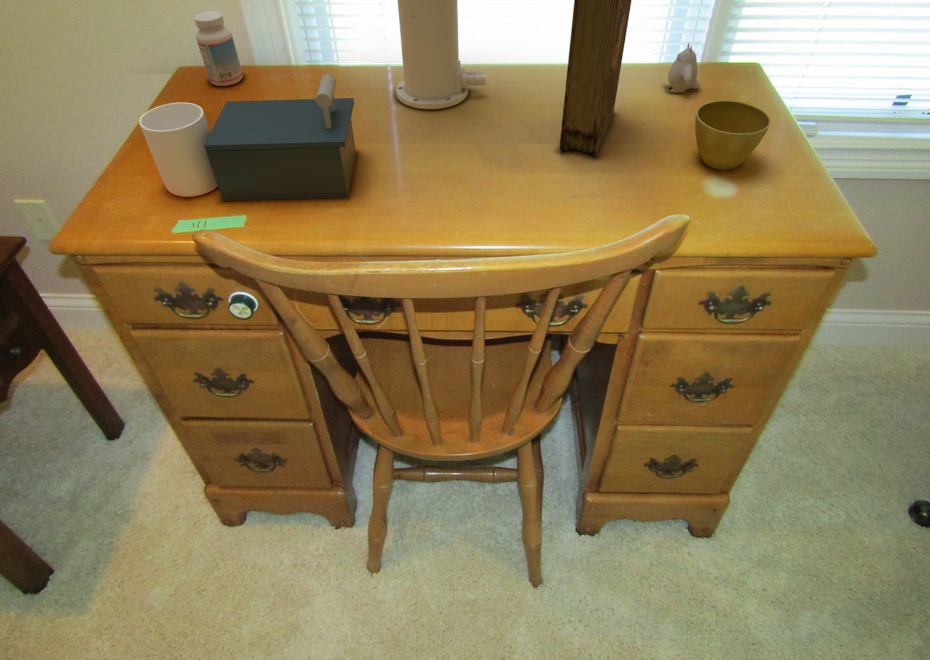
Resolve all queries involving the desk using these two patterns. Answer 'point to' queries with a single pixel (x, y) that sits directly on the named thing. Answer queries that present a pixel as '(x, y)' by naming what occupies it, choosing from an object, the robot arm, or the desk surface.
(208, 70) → the pill bottle
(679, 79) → the figurine
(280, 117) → the lid
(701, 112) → the flower pot
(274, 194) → the chest
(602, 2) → the book
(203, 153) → the mug
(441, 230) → the desk surface
